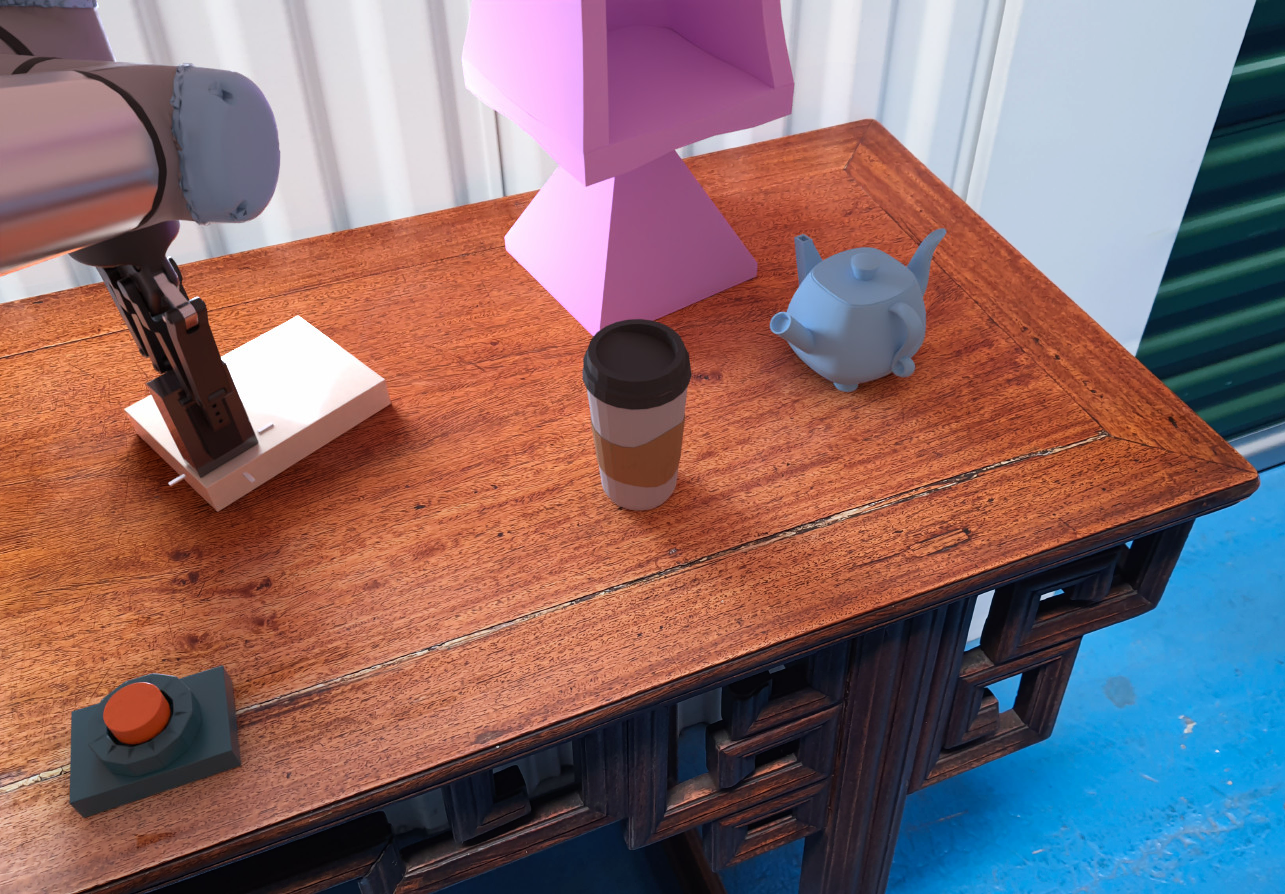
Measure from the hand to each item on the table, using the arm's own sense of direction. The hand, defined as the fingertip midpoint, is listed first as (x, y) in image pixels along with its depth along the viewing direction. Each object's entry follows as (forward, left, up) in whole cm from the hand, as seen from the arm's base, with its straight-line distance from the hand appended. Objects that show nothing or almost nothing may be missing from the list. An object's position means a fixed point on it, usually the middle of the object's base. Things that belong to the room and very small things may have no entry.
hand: (216, 439), depth 82 cm
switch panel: (+5, +3, -5) cm, 8 cm away
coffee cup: (+23, -26, -5) cm, 35 cm away
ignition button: (-17, -19, -1) cm, 25 cm away
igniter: (-17, -19, -5) cm, 26 cm away
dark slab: (0, 0, -2) cm, 2 cm away
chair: (+46, -3, -5) cm, 46 cm away
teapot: (+49, -29, -5) cm, 57 cm away
